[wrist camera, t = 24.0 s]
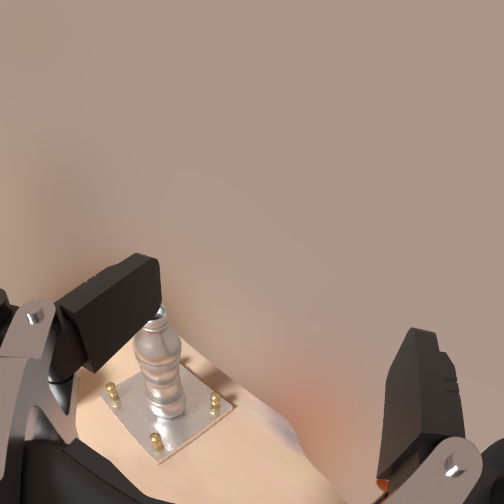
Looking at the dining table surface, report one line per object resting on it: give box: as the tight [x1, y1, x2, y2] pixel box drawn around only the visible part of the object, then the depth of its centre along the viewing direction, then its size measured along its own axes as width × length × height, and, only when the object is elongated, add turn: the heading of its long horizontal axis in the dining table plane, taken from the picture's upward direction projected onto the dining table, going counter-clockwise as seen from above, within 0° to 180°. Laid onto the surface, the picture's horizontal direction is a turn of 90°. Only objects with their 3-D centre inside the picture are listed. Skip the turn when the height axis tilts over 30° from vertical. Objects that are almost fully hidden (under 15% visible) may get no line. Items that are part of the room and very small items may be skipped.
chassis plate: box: [99, 364, 233, 465], centre depth 43 cm, size 16×16×4 cm
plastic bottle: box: [132, 304, 186, 419], centre depth 39 cm, size 6×7×20 cm
